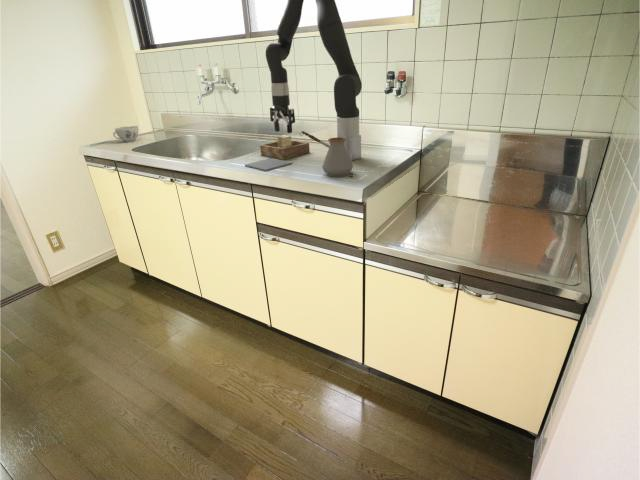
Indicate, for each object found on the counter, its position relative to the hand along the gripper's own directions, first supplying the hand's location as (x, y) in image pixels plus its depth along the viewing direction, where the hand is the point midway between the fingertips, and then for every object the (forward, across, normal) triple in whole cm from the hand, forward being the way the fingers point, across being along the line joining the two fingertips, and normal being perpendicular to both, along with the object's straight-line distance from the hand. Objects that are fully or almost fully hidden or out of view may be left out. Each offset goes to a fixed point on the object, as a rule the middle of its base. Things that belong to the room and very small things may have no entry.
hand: (283, 132), depth 172 cm
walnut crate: (+10, 0, 0) cm, 10 cm away
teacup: (+11, +105, +32) cm, 110 cm away
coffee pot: (+10, -38, +12) cm, 41 cm away
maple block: (+10, 0, 0) cm, 10 cm away
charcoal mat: (+10, -10, +18) cm, 23 cm away
